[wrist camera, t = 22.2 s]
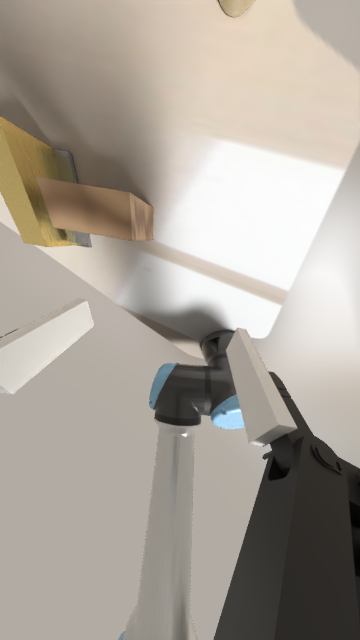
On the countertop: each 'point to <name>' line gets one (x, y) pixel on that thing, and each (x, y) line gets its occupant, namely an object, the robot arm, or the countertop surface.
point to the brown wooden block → (97, 210)
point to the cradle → (69, 175)
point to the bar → (28, 185)
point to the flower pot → (235, 6)
